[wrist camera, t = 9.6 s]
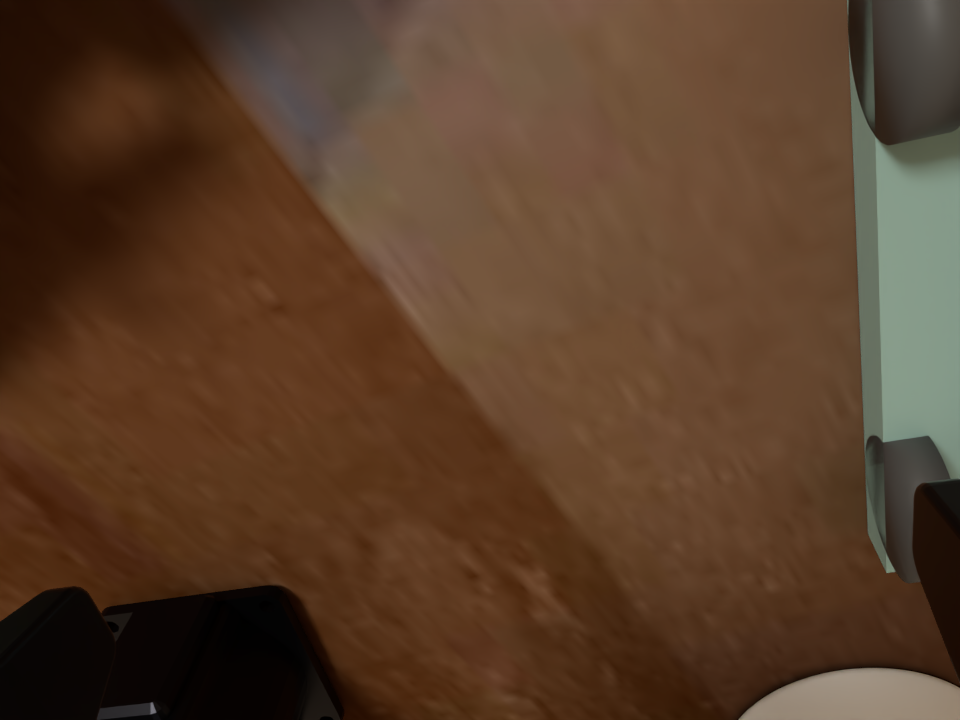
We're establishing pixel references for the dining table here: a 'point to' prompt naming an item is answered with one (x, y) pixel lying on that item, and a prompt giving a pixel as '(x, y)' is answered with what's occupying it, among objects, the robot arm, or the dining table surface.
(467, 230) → the dining table surface
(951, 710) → the wineglass
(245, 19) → the dining table surface
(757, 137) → the dining table surface
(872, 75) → the chassis
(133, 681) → the robot arm
